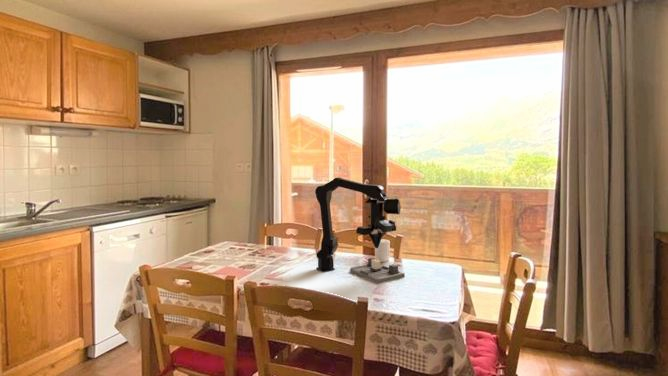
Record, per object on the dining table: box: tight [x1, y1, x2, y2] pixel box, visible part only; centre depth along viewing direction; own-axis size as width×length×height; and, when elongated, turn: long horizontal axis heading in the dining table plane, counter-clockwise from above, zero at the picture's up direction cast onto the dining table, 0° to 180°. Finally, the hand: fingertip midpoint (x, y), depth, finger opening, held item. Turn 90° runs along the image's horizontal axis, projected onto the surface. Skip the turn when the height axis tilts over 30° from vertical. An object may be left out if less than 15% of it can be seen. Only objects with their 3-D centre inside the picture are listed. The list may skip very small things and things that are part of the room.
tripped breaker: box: [370, 259, 381, 272], centre depth 180 cm, size 3×4×5 cm
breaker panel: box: [349, 257, 405, 284], centre depth 180 cm, size 15×20×5 cm
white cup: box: [374, 238, 391, 263], centre depth 205 cm, size 8×8×10 cm
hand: (376, 248), depth 179 cm, fingers closed
